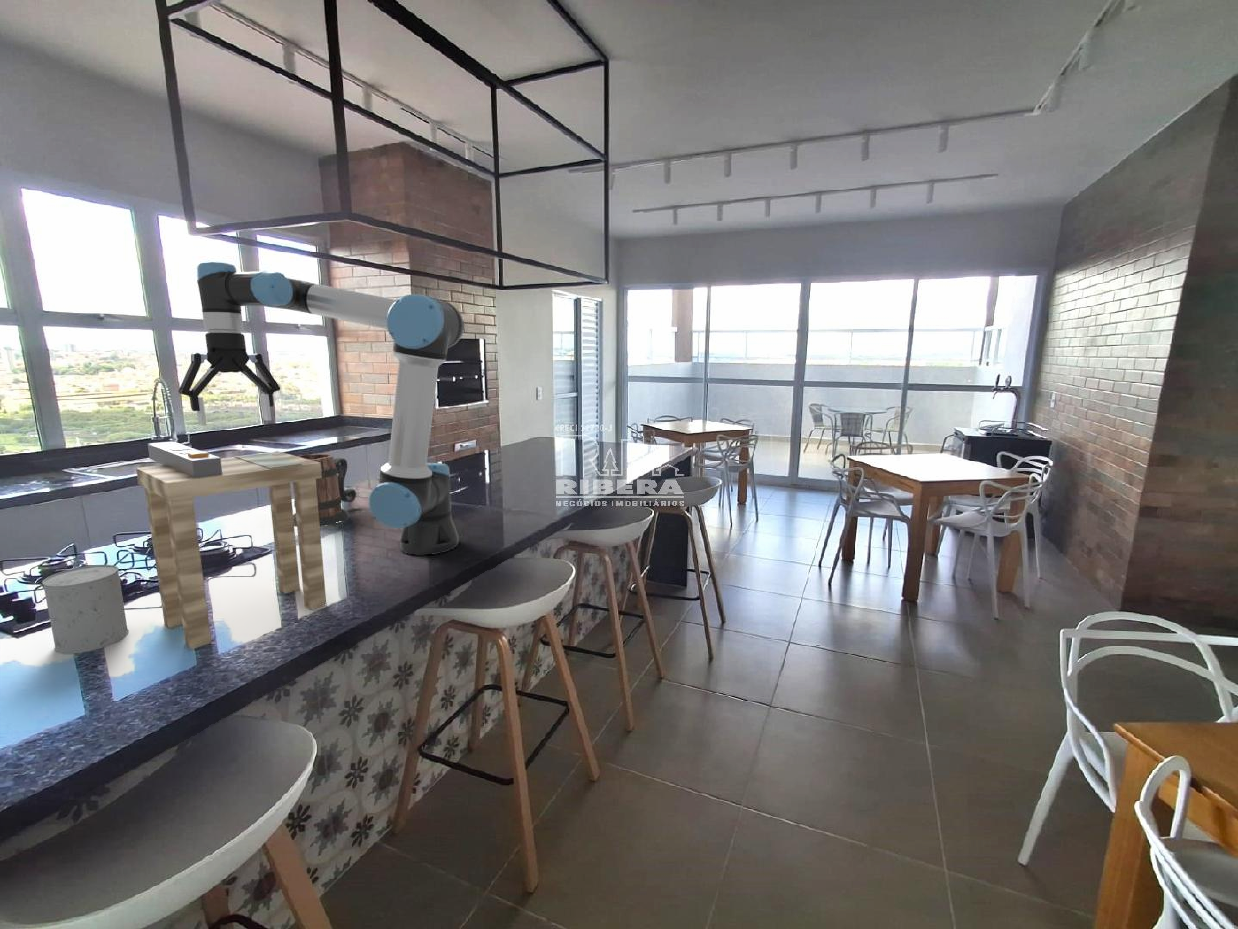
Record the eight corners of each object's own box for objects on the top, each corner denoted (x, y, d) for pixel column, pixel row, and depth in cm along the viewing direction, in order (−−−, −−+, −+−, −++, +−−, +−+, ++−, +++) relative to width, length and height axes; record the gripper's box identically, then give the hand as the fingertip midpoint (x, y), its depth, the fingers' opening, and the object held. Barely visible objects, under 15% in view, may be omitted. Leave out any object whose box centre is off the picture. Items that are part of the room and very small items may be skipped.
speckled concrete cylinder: (55, 639, 98) (42, 574, 95) (126, 622, 104) (116, 560, 102) (54, 660, 91) (40, 591, 89) (130, 640, 98) (120, 575, 95)
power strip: (149, 458, 107) (147, 440, 107) (174, 456, 110) (172, 438, 110) (194, 478, 92) (191, 457, 91) (222, 474, 95) (220, 454, 94)
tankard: (320, 529, 161) (315, 462, 157) (274, 524, 166) (268, 458, 162) (375, 509, 183) (371, 450, 180) (333, 504, 188) (329, 447, 184)
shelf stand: (158, 622, 105) (135, 466, 99) (293, 583, 123) (280, 451, 118) (190, 653, 94) (166, 481, 88) (332, 606, 113) (320, 461, 107)
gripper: (275, 334, 141) (285, 417, 145) (152, 330, 121) (167, 426, 125) (288, 333, 136) (298, 419, 140) (162, 329, 117) (177, 428, 121)
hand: (236, 422), depth 133 cm, fingers open, 13 cm apart
